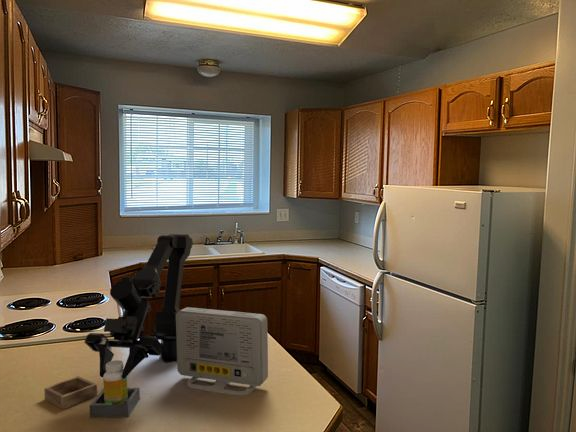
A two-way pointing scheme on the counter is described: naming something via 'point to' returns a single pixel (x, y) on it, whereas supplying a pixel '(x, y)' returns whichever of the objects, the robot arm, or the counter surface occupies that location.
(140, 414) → the counter surface
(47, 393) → the holder sleeve
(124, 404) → the dock collar
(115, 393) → the supplement bottle
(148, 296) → the robot arm
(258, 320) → the network device
